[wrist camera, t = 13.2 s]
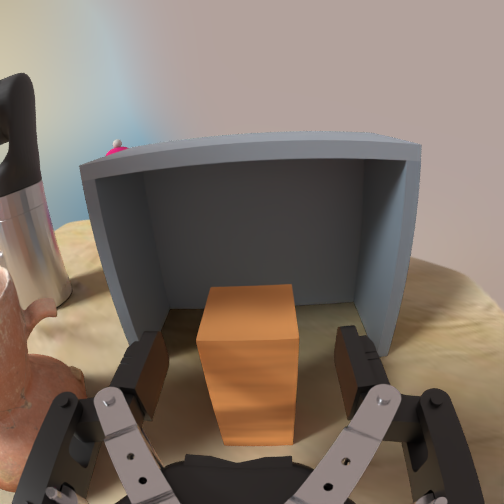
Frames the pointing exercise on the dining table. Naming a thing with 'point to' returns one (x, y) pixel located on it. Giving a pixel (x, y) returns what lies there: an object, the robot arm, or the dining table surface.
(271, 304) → the orange block
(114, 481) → the dining table surface
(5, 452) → the ceramic jug
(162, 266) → the grey cubby
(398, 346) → the dining table surface
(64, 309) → the dining table surface
